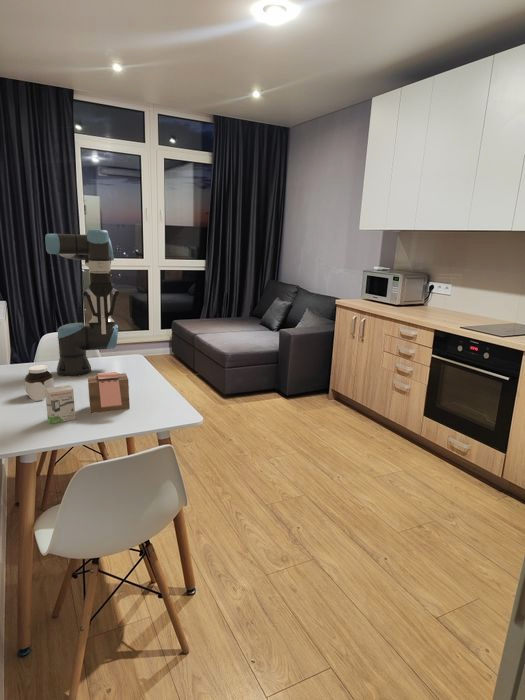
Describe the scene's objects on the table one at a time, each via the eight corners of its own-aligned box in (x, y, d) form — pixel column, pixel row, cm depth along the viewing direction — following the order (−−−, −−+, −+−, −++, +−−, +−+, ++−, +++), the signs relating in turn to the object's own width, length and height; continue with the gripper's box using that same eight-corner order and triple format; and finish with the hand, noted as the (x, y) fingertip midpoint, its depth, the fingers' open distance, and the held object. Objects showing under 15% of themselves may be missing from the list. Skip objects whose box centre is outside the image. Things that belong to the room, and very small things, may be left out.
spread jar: (47, 389, 186) (44, 363, 183) (62, 395, 180) (59, 368, 177) (18, 397, 176) (15, 369, 173) (33, 403, 170) (30, 375, 167)
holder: (89, 405, 170) (87, 373, 167) (127, 401, 175) (125, 370, 172) (90, 413, 163) (88, 380, 159) (129, 408, 168) (128, 376, 165)
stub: (98, 382, 161) (98, 381, 160) (118, 380, 164) (118, 379, 163) (101, 407, 157) (101, 406, 156) (121, 405, 159) (121, 404, 159)
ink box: (50, 424, 153) (47, 392, 150) (47, 419, 156) (44, 388, 153) (76, 419, 157) (73, 388, 154) (73, 414, 161) (70, 384, 158)
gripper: (81, 273, 158) (86, 336, 164) (119, 273, 163) (122, 334, 169) (81, 271, 165) (85, 332, 171) (117, 271, 170) (120, 330, 176)
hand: (103, 333), depth 170 cm, fingers closed
